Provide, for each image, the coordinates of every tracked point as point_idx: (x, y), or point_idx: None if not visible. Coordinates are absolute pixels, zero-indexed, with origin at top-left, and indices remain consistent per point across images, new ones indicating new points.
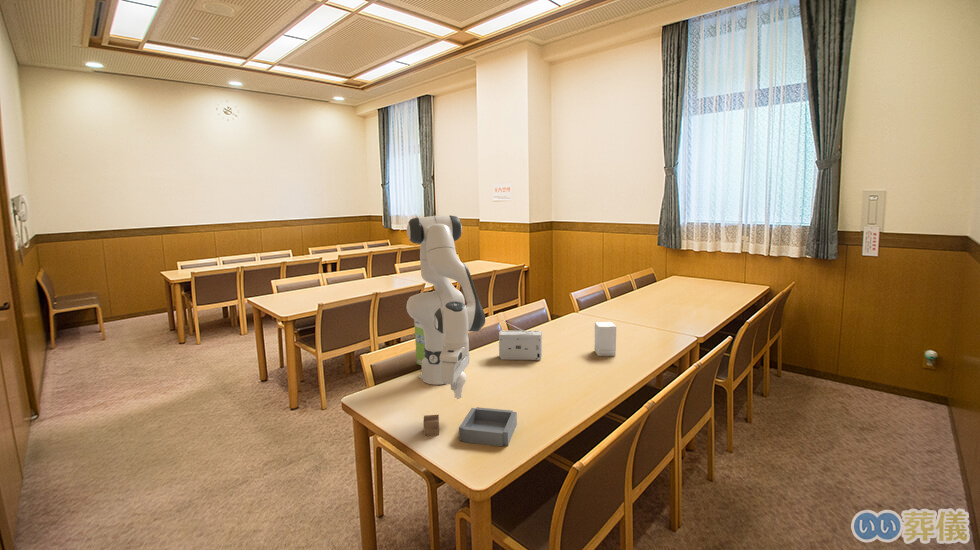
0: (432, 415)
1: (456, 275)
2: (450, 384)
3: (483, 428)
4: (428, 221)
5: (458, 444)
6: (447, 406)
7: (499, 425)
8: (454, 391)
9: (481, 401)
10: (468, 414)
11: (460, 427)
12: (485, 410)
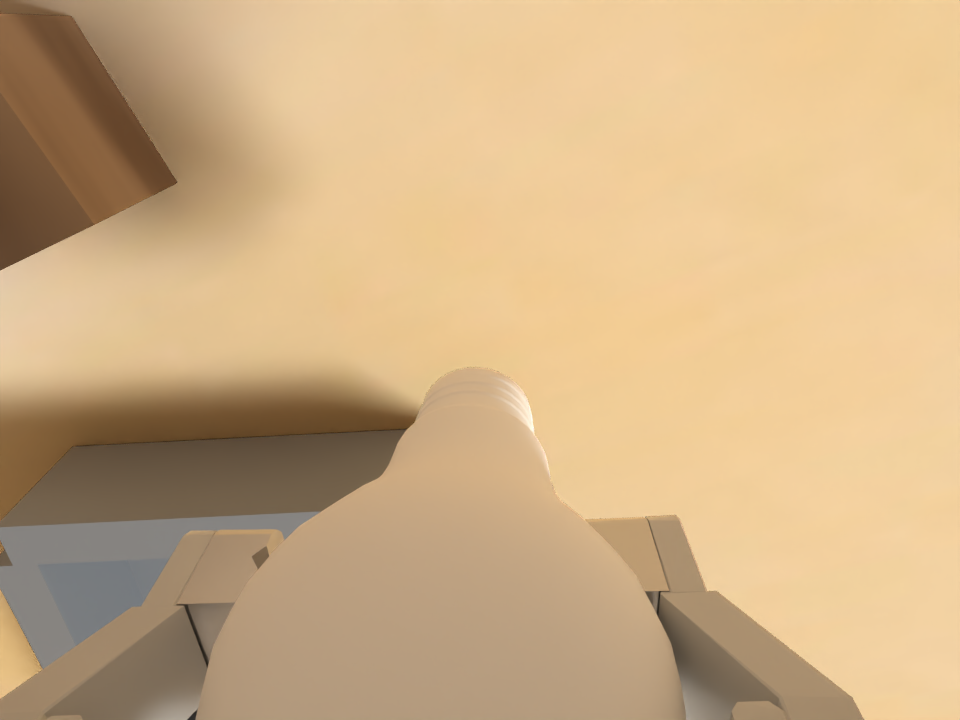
0: (25, 148)
1: None
2: (97, 632)
3: None
4: None
5: (13, 459)
6: (721, 50)
7: None
8: (393, 453)
9: (876, 387)
10: (293, 521)
11: (1, 539)
12: None
